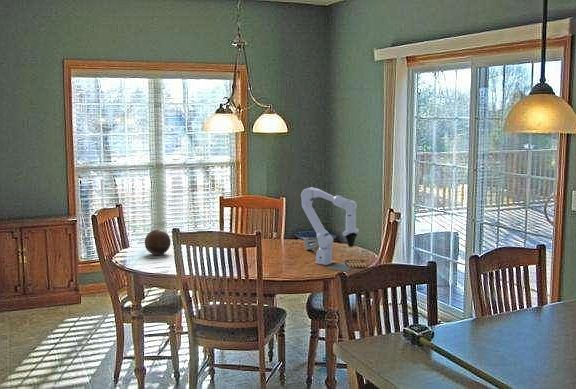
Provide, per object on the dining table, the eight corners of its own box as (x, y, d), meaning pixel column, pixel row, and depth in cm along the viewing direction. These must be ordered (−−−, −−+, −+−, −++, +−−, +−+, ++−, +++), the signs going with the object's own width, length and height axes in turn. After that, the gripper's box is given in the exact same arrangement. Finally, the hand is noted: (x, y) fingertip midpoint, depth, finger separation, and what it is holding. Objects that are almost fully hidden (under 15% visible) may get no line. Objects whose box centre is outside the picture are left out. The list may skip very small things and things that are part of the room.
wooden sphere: (175, 254, 395) (175, 229, 393) (158, 258, 383) (157, 232, 381) (157, 251, 403) (157, 226, 402) (139, 255, 391) (139, 230, 389)
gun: (310, 263, 412) (307, 240, 416) (324, 256, 389) (321, 231, 393) (305, 264, 411) (302, 240, 415) (319, 256, 388) (316, 231, 392)
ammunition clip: (363, 259, 373) (368, 265, 361) (363, 263, 373) (367, 268, 361) (345, 259, 372) (348, 265, 360) (344, 263, 372) (348, 268, 360)
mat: (345, 271, 354) (345, 270, 354) (326, 268, 361) (326, 267, 361) (360, 265, 368) (360, 265, 368) (342, 263, 375) (342, 262, 375)
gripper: (350, 224, 359) (350, 249, 360) (363, 221, 371) (363, 245, 372) (339, 223, 363) (339, 248, 364) (352, 220, 375) (352, 244, 376)
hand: (350, 246), depth 369 cm, fingers closed
